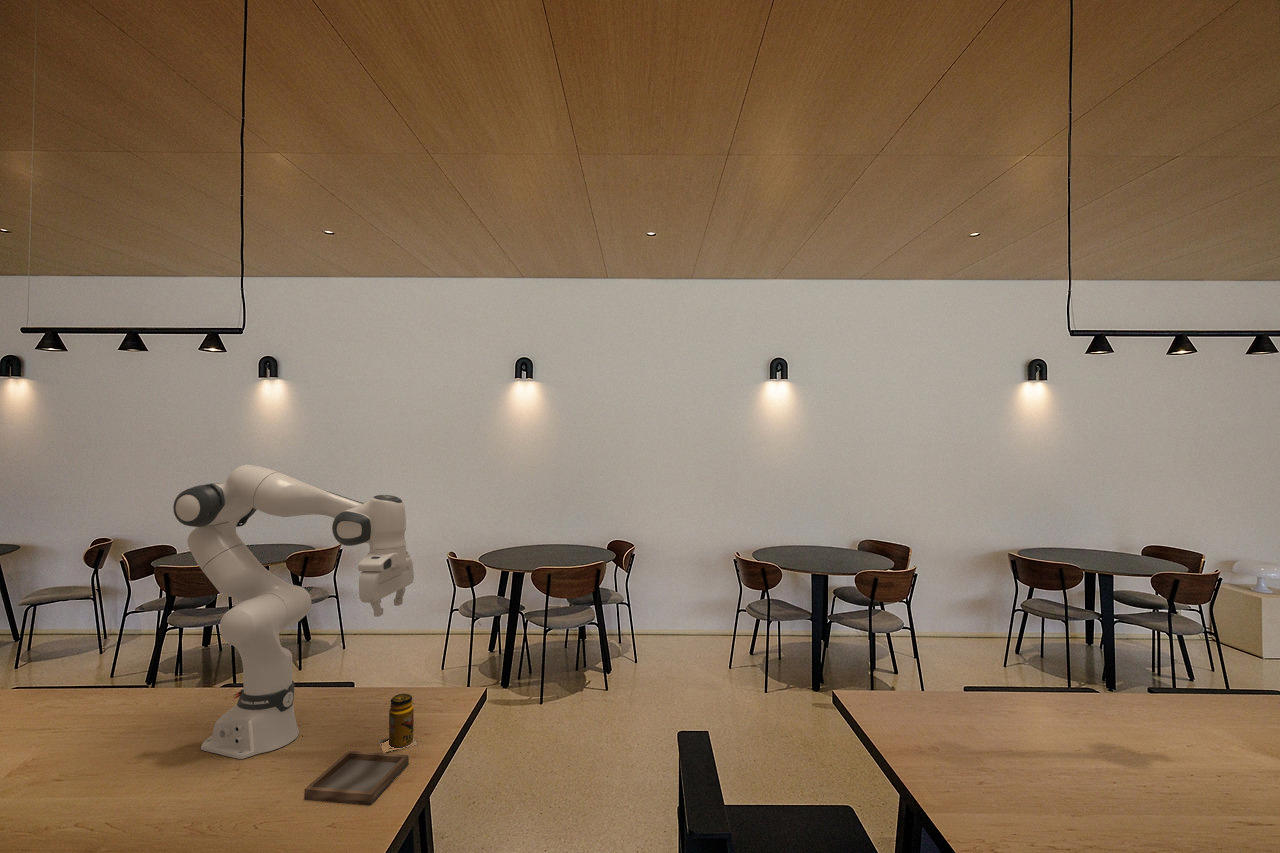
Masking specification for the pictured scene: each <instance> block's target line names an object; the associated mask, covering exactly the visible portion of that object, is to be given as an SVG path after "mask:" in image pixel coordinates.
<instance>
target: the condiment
mask: <svg viewBox="0 0 1280 853" xmlns="http://www.w3.org/2000/svg"><path fill="white" fill-rule="evenodd" d="M389 707H390V708H389V710H388V738H383V739H380V740H377V742H378V744H379V743H380V744H381V743H384V742H386V741H388V740H389V745H390V746H391V747H394V748H403V747H406V746H408V745H410V744H411V743H413V744H414V743H415V744H414V745H415V746H417V745H418V743H417V741H416V739H415V736H414V726H415V725H414V723H415V722H414V714H415V713H414V711H415V710H414V705H413V696H412V694H409V693H400V694H399V693H398V694H395V695H394V696H393V697H392V698H391V699H390V706H389ZM413 738H414V740H415V741H414V742H413ZM414 745H412V746H410V747H414ZM381 746H382V744H381ZM410 747H409V748H410ZM391 752H393V751H392V750H391Z"/></svg>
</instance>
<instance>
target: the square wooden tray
mask: <svg viewBox="0 0 1280 853" xmlns="http://www.w3.org/2000/svg"><path fill="white" fill-rule="evenodd" d="M409 756H410V755H409V754H399V753H382V752H372V751H369V752H368V751H360V750H359V751H358V750H348V751H346V752H345V753H344V754H343V755H342V756H340V758H338V759H337V760H336V761H335V762H334V763H332V764H331V765H330V766H329V767H328V768H327V769H325V771H323V772H322V773H321V774H320V775H319V776H318V777H316V779H314V780H313V781H311V782H310V784H308V785H307V786H306V787H305V788H304V790H303V791H304V792H303V793H304V797H303V799H304V801H306V800H307V801H317V802H318V801H321V802H331V803H332V802H333V803H343V804H351V805H353V804H354V805H365V806H372V805H373V804H374V803H375V802H376V801H377V799H378V798H379V797H381V795H382V794H383V793H384V792H385V791H386V790H387V789H388V788H389V786H391V784H392V783H393V782H394V781H395V780H396V779H397V778H398V777H399V776H400V775H401V773H402V772H403V771H405V769H406V768H407V767H408V766H409V763H410V762H409ZM398 775H399V776H398ZM397 776H398V777H397ZM396 777H397V778H396ZM395 778H396V779H395ZM394 779H395V780H394ZM393 780H394V781H393Z"/></svg>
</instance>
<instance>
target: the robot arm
mask: <svg viewBox="0 0 1280 853" xmlns="http://www.w3.org/2000/svg"><path fill="white" fill-rule="evenodd" d="M172 508H173V509H172V510H173V515H174V517H175V518H176V520H177V521H178V522H179V523H180V524H182V525H184V526H187V527H194V529H193V530H192V531H191V532H190V533H189V535H188V536H187V539H186V542H187V543H186V544H187V546H188V549H189V551H190V552H191V554H192V557H193V558H194V560H195V562H196V564H197V565H198V566H199V568H200V569H201V571H202V572H203V573H204V575H205V576H206V577H207V578H208V579H209V582H211V584H212V585H213V587H215V589H216V590H217V591H218V592H219V594H221V595H222V596H225V597H231V598H234V599H237V600H239V601H241V602H240V603H238V604H236V605H234V606H233V607H232V608H230V609H228V611H226V612H225V613H224V614H223V616H222V617H221V618H220V623H219V632H220V635H221V637H222V639H223V640H224V641H225V642H226V643H227V644H229V645H230V646H233V647H234V648H235V649H236V650H237V651H238V653H239V655H240V658H241V662H242V673H243V677H242V678H243V679H242V680H243V688H242V689H240V691H238V692H236V693H235V694H233V696H234V697H233V700H236V699H238V700H237V703H236V704H235V705H234V706H232V707H231V708H230V709H228V710H227V711H226V712H225V713H224V714H222V715H221V716H220V717H219V718H218V719H217V720H216V722H215V723H214V725H213V729H212V735H211V736H209V737H208V738H206V739H205V740H204V741H203V742H202V743H201V745H200V746H201V747H200V750H201V751H205V752H209V753H212V754H217V755H221V756H225V757H230V758H234V759H237V760H243V759H247V758H249V757H252V756H255V755H258V754H263V753H267V752H272V751H274V750H277V749H280V748H283V747H285V746H286V745H288V744H290V743H292V742H293V741H294V740H296V738H298V736H299V734H300V731H299V727H298V724H297V719H296V714H295V709H294V708H295V706H294V699H295V682H294V680H293V654H292V651H291V650H289V649H288V648H286V647H283V646H282V644H281V641H280V632H281V631H283V630H286V629H288V628H290V627H291V626H294V625H296V624H297V623H299V622H300V621H301V620H302V619H303V618H305V616H307V615H308V614H309V612H310V610H311V608H312V597H311V595H310V593H309V592H308V591H307V589H305V588H304V587H302V586H300V585H296V584H292V583H289V582H287V581H285V580H284V579H281V578H280V577H279V576H277V575H275V574H273V573H272V572H271V571H270V570H268V569H267V568H266V567H265V566H264V565H263V564H262V563H261V562H260V561H259V560H258V558H257V557H256V556H255V555H254V553H253V552H252V551H251V550H250V549H249V548H248V547H247V545H246V544H245V543H244V542H243V540H242V539H241V538H240V536H239V535H238V532H237V528H239V527H243V526H245V525H246V523H247V522H248V521H249V519H250V518H251V517H252V516H253V515H254V514H255V513H256V511H260V512H261V513H264V514H267V515H270V516H275V517H281V518H290V517H299V516H310V515H311V516H313V515H319V516H320V515H321V516H325V517H330V518H332V519H334V520H333V521H332V524H331V525H332V527H331V530H332V531H331V532H332V534H333V537H334V539H335V540H336V541H337V542H338V544H341V545H342V546H347V547H348V546H349V547H352V546H353V547H354V546H358V545H361V544H368V545H369V552H368V553H366V555H365V556H364V558H363V559H362V560H361V561H359V563H358V564H357V570H358V571H359V572H360V574H359V578H358V593H359V594H358V595H359V596H358V597H359V600H360V601H361V602H362V603H364V604H365V603H369V604H370V606H371V608H372V610H373V616H374V617H377V618H378V617H381V616H383V615H384V608H383V607H382V605H381V603H382V599H384V598H385V597H388V596H390V595H392V594H394V593H395V592H396V594H395V597H394V598H393V605H394V606H397V607H398V606H401V605H403V604H404V596H405V593H406V587H408V586H410V585H411V584H413V582H414V578H415V577H414V576H415V575H414V574H415V573H414V565H413V560H412V558H411V555H410V553H409V552H408V551H407V542H406V539H405V533H406V529H407V521H406V520H407V517H406V516H407V515H406V509H405V505H404V501H403V500H402V499H401V498H399V497H398V496H394V495H389V494H379V495H378V494H377V495H374V496H373V497H371V498H370V499H369V500H367V501H366V502H362V501H359V500H355V499H352V498H350V497H346V496H343V495H340V494H337V493H334V492H331V491H327V490H324V489H322V488H319V487H316V486H314V485H311V484H308V483H306V482H305V481H301V480H299V479H297V478H295V477H291V476H290V475H287V474H285V473H282V472H280V471H277V470H275V469H272V468H268V467H264V466H261V465H255V464H241V465H240V466H238V467H235V469H233V470H232V471H231V473H230V474H229V475H228V477H227V478H226V481H225V482H215V483H212V482H211V483H207V484H200V485H195V486H193V487H189V488H187V489H185V490H183V491H181V492H180V493H179V494H178V495H177V496H176V497H175V499H174V501H173V507H172Z"/></svg>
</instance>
